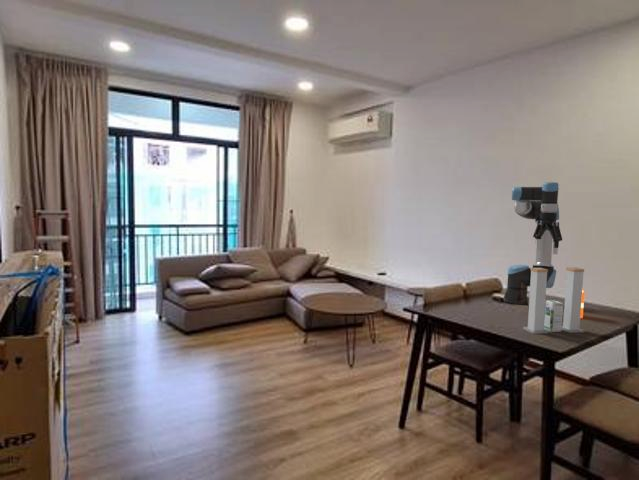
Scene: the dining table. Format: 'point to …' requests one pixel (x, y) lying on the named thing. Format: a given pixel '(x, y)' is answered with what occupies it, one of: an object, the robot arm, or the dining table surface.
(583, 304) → the orange juice
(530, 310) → the post
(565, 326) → the post
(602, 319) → the dining table surface
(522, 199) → the robot arm
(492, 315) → the dining table surface
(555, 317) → the syrup box
